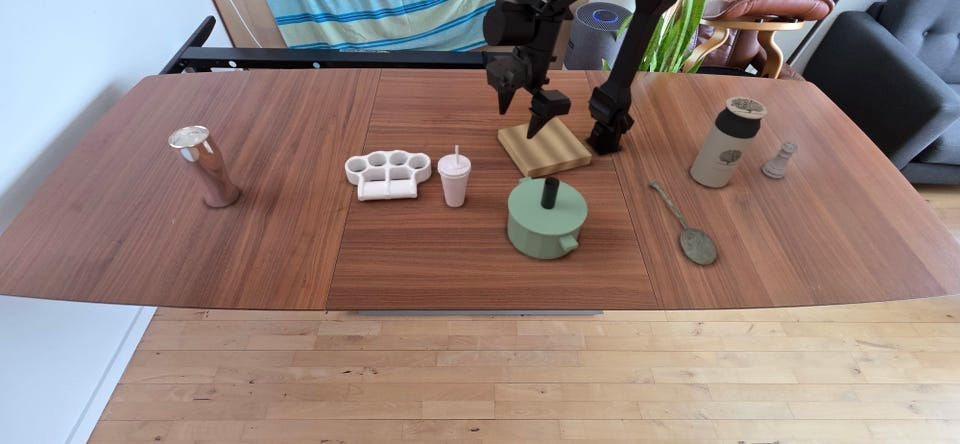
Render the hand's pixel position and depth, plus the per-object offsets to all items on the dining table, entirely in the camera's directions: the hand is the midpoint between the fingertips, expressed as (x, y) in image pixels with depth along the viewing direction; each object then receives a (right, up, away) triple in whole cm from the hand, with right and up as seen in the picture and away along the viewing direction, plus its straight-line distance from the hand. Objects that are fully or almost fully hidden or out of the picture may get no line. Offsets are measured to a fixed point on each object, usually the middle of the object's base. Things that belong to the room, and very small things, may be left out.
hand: (515, 126), depth 83 cm
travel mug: (+44, -8, +14) cm, 47 cm away
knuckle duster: (-26, -9, +10) cm, 30 cm away
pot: (+5, -20, +1) cm, 21 cm away
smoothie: (-12, -14, +6) cm, 20 cm away
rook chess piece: (+60, -7, +15) cm, 62 cm away
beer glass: (-59, -14, +5) cm, 61 cm away
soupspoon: (+33, -19, +4) cm, 38 cm away
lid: (+5, -16, -4) cm, 17 cm away
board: (+8, -2, +18) cm, 20 cm away
